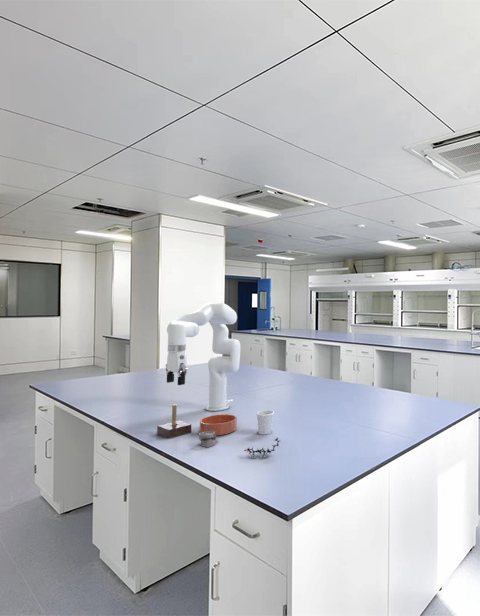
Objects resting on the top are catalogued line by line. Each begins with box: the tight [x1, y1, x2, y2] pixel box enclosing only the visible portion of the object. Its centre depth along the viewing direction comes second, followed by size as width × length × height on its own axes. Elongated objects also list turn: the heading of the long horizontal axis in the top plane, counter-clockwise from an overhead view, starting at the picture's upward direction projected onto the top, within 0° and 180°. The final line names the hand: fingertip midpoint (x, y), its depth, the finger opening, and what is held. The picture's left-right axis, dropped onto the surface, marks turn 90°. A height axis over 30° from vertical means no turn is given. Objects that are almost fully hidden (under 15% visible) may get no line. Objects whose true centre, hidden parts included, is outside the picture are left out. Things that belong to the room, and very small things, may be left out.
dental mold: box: [198, 431, 217, 448], centre depth 170 cm, size 8×7×5 cm
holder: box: [156, 420, 192, 439], centre depth 182 cm, size 11×11×4 cm
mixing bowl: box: [198, 413, 238, 437], centre depth 187 cm, size 17×17×6 cm
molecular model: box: [243, 436, 282, 458], centre depth 157 cm, size 6×15×8 cm, turn 96°
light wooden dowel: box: [171, 403, 178, 426], centre depth 182 cm, size 2×2×14 cm
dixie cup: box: [255, 409, 275, 435], centre depth 187 cm, size 8×8×10 cm
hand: (175, 383), depth 182 cm, fingers open, 9 cm apart
